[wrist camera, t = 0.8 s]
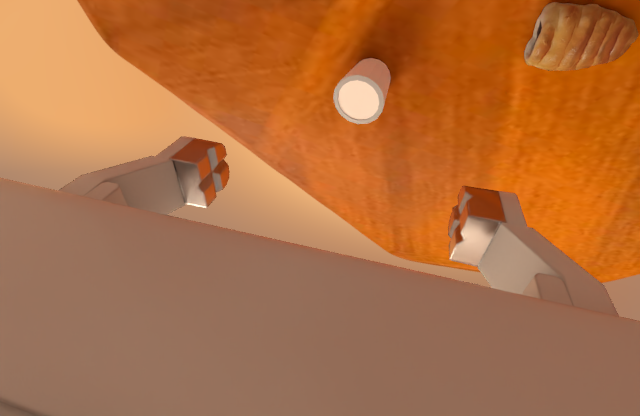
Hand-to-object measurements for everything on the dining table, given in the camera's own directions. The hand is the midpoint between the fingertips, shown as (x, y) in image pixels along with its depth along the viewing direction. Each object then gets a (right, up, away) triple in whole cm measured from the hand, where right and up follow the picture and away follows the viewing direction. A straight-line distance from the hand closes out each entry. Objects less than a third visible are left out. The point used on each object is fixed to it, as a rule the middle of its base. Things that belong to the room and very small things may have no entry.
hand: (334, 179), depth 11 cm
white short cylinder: (+7, +18, +36) cm, 41 cm away
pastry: (+27, +18, +25) cm, 41 cm away
